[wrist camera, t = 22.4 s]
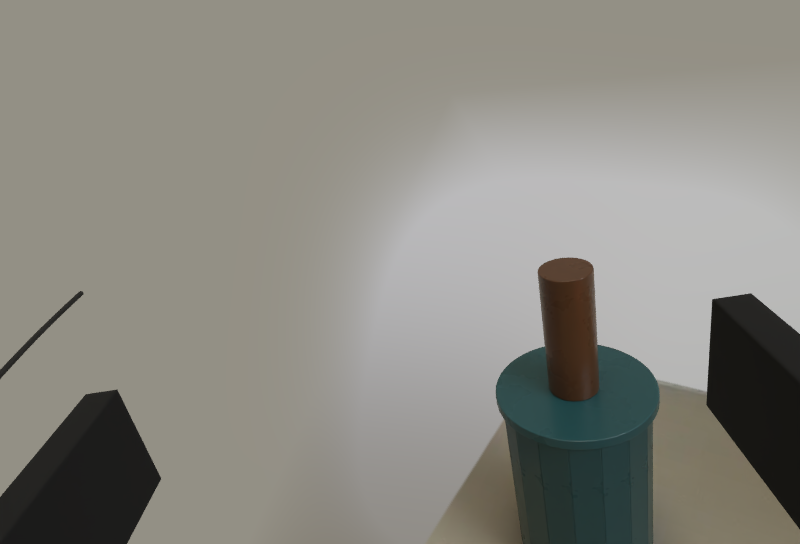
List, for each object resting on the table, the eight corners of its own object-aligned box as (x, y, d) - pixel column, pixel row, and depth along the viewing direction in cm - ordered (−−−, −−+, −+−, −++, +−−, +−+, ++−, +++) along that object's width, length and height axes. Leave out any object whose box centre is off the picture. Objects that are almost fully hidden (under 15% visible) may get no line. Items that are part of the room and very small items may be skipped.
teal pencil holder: (504, 515, 41) (482, 377, 36) (605, 480, 42) (598, 340, 37) (559, 619, 34) (542, 464, 28) (680, 573, 35) (684, 415, 29)
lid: (476, 383, 36) (456, 261, 33) (601, 343, 38) (595, 222, 34) (539, 481, 28) (522, 333, 25) (697, 426, 29) (702, 278, 26)
